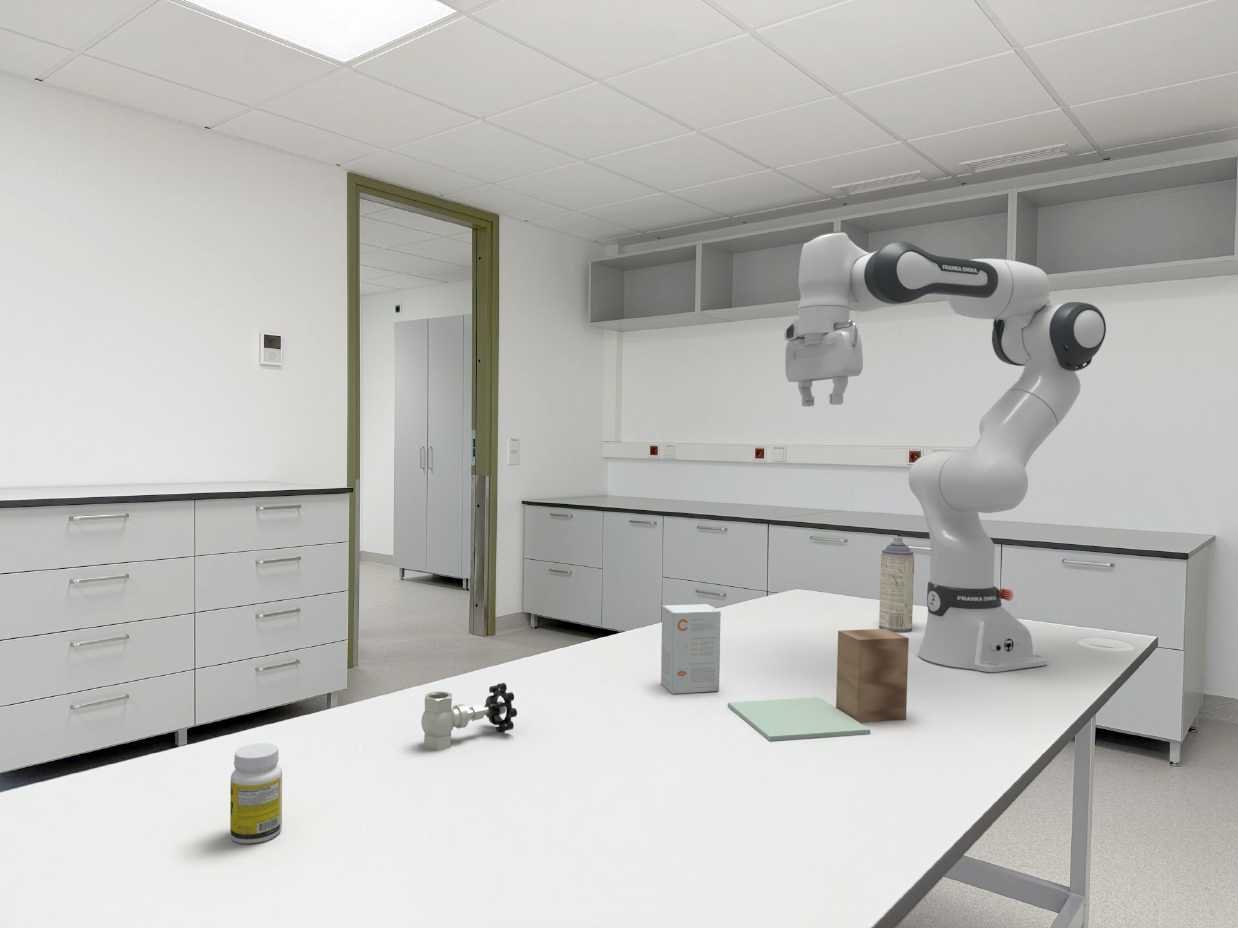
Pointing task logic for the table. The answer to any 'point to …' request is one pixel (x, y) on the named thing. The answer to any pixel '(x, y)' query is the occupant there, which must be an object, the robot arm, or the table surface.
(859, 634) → the walnut block
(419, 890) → the table surface
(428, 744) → the valve
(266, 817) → the supplement bottle
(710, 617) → the small box
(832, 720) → the green glass pane
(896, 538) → the aerosol can
